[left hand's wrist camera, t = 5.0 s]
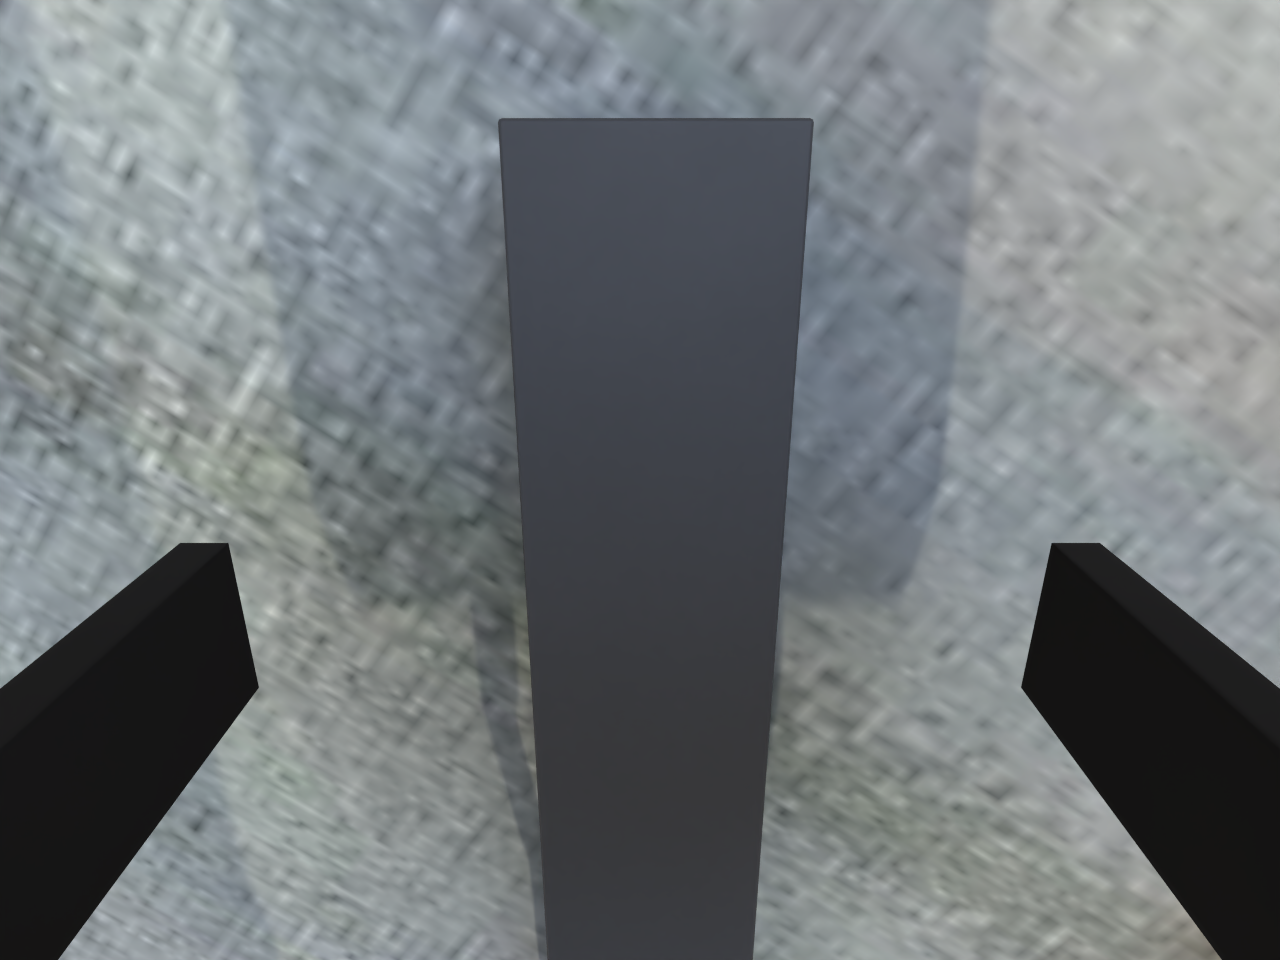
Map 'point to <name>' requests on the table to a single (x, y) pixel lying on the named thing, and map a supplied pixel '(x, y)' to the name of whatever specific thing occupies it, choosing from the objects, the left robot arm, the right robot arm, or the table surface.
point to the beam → (653, 509)
